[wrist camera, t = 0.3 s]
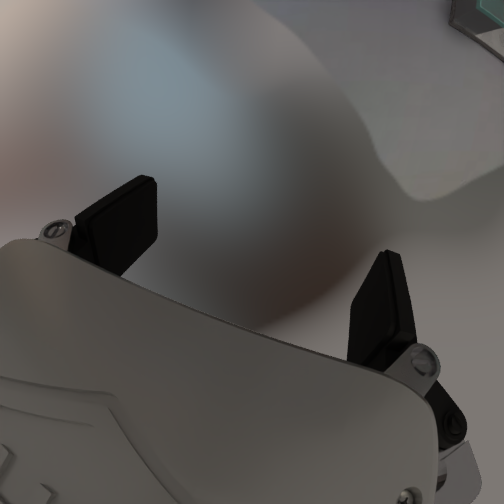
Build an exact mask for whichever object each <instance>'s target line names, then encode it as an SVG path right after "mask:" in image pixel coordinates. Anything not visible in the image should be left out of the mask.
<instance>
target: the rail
mask: <svg viewBox="0 0 504 504" xmlns="http://www.w3.org/2000/svg"><path fill="white" fill-rule="evenodd" d="M456 1H457V0H452V7H451V13H450V20H449V25H450V26H452V27H454V28H455V29H457V30H459V31H460V32H462V33H464V34H465V35H467V36H468V37H470V38H471V39H473V40H474V41H476V42H477V43H479V44H480V45H482V46H483V47H484V48H486V49H487V50H489V51H490V52H491V53H493V54H494V55H495V56H496V57H498V58H499V59H500V60H502V61H503V62H504V28H501V29H497V30H493V31H489V32H485V33H481V34H478V35H477V34H476V33H474V32H473V31H471V30H470V29H468V28H467V27H465V26H464V25H462V24H460V23H459V22H457V21H455V20H454V16H455V9H456Z"/></svg>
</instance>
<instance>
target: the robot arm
mask: <svg viewBox="0 0 504 504" xmlns="http://www.w3.org/2000/svg"><path fill="white" fill-rule="evenodd" d="M75 222H76V225H75V226H74V227H73V225H72V223H71V222H70V221H68V220H64V219H62V220H56V221H53V222H50V223H49V224H47V225H46V226H45V227H44V228H43V229H42V230H41V232H40V235H39V237H38V238H36V239H18V240H13V241H11V242H9V243H7V244H5V245H4V246H3V247H1V248H0V504H470V503H472V502H473V500H475V499H476V497H477V495H478V494H479V492H480V489H481V485H482V481H481V476H480V473H479V470H478V466H477V463H476V460H475V458H474V455H473V452H472V449H471V447H470V444H469V441H466V442H465V441H464V438H465V435H466V432H467V422H466V419H465V416H464V415H463V413H462V411H461V410H460V409H459V407H458V406H457V405H456V403H455V402H454V401H453V400H452V398H451V397H450V396H449V394H448V393H447V392H446V391H445V389H444V388H443V387H442V386H441V384H440V383H439V382H438V381H437V378H438V376H439V373H440V367H441V366H440V362H439V359H438V357H437V355H436V354H435V352H434V351H433V350H432V349H431V348H429V347H428V346H426V345H424V344H420V343H417V336H416V329H415V323H414V316H413V310H412V305H411V300H410V295H409V291H408V286H407V282H406V277H405V273H404V269H403V264H402V260H401V256H400V254H398V253H395V252H393V251H390V250H385V251H384V252H382V251H381V252H380V253H379V254H378V256H377V258H376V260H375V262H374V264H373V265H372V267H371V269H370V271H369V273H368V275H367V277H366V279H365V280H364V282H363V284H362V286H361V287H360V289H359V291H358V293H357V294H356V296H355V298H354V299H353V301H352V304H351V309H350V327H349V340H348V352H347V361H345V360H342V359H339V358H336V357H332V356H329V355H325V354H322V353H319V352H315V351H312V350H309V349H306V348H303V347H299V346H297V345H293V344H291V343H287V342H284V341H281V340H278V339H275V338H272V337H269V336H266V335H264V334H260V333H257V332H255V331H252V330H249V329H246V328H244V327H241V326H238V325H236V324H233V323H230V322H227V321H225V320H222V319H219V318H217V317H214V316H212V315H209V314H207V313H204V312H201V311H199V310H196V309H194V308H191V307H188V306H186V305H184V304H182V303H179V302H177V301H174V300H172V299H170V298H167V297H164V296H162V295H160V294H158V293H155V292H153V291H151V290H148V289H146V288H144V287H142V286H140V285H137V284H135V283H133V282H131V281H128V280H126V279H124V278H122V277H120V276H121V275H122V274H123V273H124V272H125V271H126V270H127V269H128V268H129V267H130V266H131V265H132V264H133V263H134V262H135V261H136V260H137V259H138V258H139V257H140V256H141V255H142V254H143V253H144V252H145V251H146V250H147V249H148V248H149V247H150V246H151V245H152V244H153V243H154V242H155V241H156V239H157V236H158V229H157V183H156V182H155V180H154V178H153V177H149V176H145V175H139V176H137V177H136V178H134V179H132V180H131V181H129V182H127V183H126V184H124V185H122V186H121V187H119V188H117V189H116V190H114V191H112V192H111V193H110V194H108V195H106V196H105V197H103V198H102V199H100V200H98V201H97V202H96V203H94V204H92V205H91V206H89V207H88V208H86V209H85V210H84V211H82V212H81V213H79V214H78V215H76V216H75Z"/></svg>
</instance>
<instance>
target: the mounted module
mask: <svg viewBox="0 0 504 504" xmlns="http://www.w3.org/2000/svg"><path fill="white" fill-rule="evenodd" d="M454 20H455V21H457V22H459V23H460V24H462V25H464V26H465V27H467V28H468V29H470V30H471V31H473V32H474V33H476V34H477V35H478V34H481V33H485V32H489V31H493V30H497V29H501V28H504V0H457V1H456V9H455V16H454Z"/></svg>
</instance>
